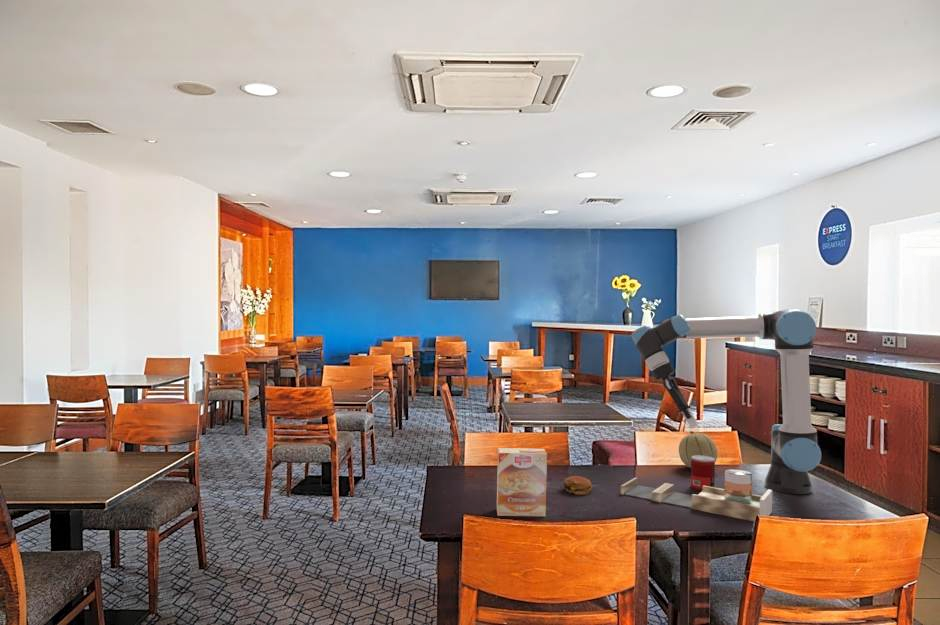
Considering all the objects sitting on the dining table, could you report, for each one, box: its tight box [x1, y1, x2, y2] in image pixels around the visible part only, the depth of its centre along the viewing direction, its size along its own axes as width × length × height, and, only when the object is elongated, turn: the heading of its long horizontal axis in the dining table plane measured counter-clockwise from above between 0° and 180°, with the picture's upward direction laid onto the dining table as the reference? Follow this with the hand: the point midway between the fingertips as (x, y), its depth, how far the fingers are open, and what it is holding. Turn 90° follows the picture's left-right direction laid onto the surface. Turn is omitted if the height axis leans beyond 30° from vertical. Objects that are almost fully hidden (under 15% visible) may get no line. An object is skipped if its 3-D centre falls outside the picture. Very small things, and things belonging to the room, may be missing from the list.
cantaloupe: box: [678, 430, 719, 469], centre depth 248 cm, size 15×15×15 cm
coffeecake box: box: [496, 447, 548, 517], centre depth 192 cm, size 15×7×20 cm, turn 90°
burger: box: [563, 475, 593, 496], centre depth 216 cm, size 10×9×5 cm
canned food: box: [690, 455, 716, 492], centre depth 222 cm, size 8×8×11 cm
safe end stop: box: [749, 488, 773, 516], centre depth 195 cm, size 12×13×7 cm
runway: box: [620, 477, 763, 522], centre depth 205 cm, size 44×13×4 cm, turn 54°
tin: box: [723, 469, 753, 504], centre depth 198 cm, size 8×8×9 cm
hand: (695, 427), depth 212 cm, fingers closed
